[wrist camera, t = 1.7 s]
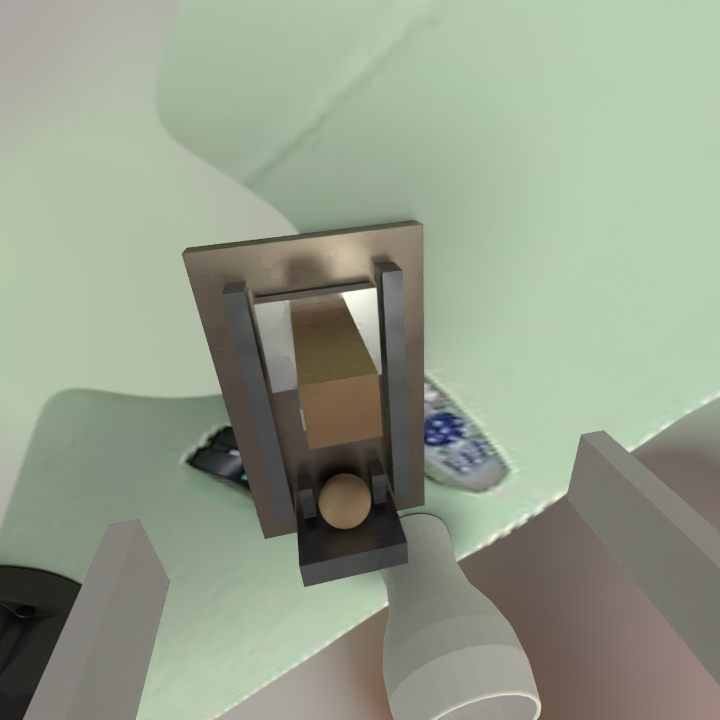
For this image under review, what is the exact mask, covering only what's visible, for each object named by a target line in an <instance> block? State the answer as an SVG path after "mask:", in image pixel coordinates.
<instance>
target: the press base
mask: <svg viewBox="0 0 720 720" xmlns="http://www.w3.org/2000/svg"><path fill="white" fill-rule="evenodd" d="M182 256H183V260H184V263H185V266H186V270H187V273H188V277H189V280H190V284H191V287H192V290H193V293H194V297H195V301H196V304H197V308H198V311H199V314H200V318H201V321H202V325H203V328H204V332H205V335H206V338H207V342H208V345H209V349H210V352H211V355H212V359H213V362H214V366H215V369H216V373H217V376H218V379H219V383H220V387H221V390H222V393H223V397H224V400H225V404H226V407H227V411H228V414H229V417H230V421H231V424H232V428H233V431H234V435H235V438H236V442H237V445H238V448H239V452H240V455H241V459H242V462H243V466H244V469H245V472H246V476H247V479H248V483H249V486H250V490H251V493H252V496H253V500H254V503H255V507H256V510H257V514H258V517H259V520H260V524H261V527H262V531H263V534H264V538H265V539H267V538H272V537H276V536H281V535H286V534H290V533H295V532H297V535H298V551H299V567H300V571H301V575H302V579H303V583H304V587H307V586H311V585H315V584H320V583H324V582H328V581H333V580H337V579H341V578H346V577H350V576H354V575H359V574H363V573H367V572H372V571H376V570H380V569H385V568H389V567H393V566H398V565H402V564H406V563H408V546H407V540H406V537H405V534H404V531H403V528H402V525H401V522H400V519H399V516H398V513H397V511H398V510H403V509H408V508H412V507H417V506H422V505H424V312H423V224H421V223H419V222H417V221H407V222H399V223H390V224H382V225H374V226H365V227H357V228H349V229H340V230H332V231H324V232H315V233H307V234H299V235H290V236H282V237H274V238H266V239H258V240H249V241H240V242H233V243H225V244H215V245H207V246H199V247H190V248H186V250H185V251H184V252H183V253H182ZM368 282H373V284H374V285H375V286H376V288H377V304H378V320H379V336H380V352H381V368H382V374H381V375H379V390H380V405H381V420H382V434H383V436H380V437H374V438H369V439H364V440H359V441H353V442H348V443H343V444H337V445H332V446H327V447H321V448H316V449H311V450H310V449H309V443H308V438H307V432H306V430H305V431H304V429H303V424H302V418H301V413H300V406H299V396H298V389H292V390H286V391H280V392H274V393H273V391H272V386H271V382H270V377H269V373H268V368H267V364H266V359H265V355H264V350H263V345H262V341H261V336H260V332H259V327H258V323H257V318H256V314H255V309H254V298H259V297H266V296H273V295H281V294H288V293H295V292H302V291H310V290H317V289H324V288H331V287H339V286H346V285H353V284H360V283H368ZM338 474H352V475H355V476H357V477H359V478H360V479H361V480H363V482H364V483H365V484H366V485H367V487H368V489H369V492H370V496H371V506H370V510H369V513H368V515H367V517H366V518H365V519H364V520H363V522H361V523H360V524H359V525H357V526H355V527H353V528H349V529H340V528H336V527H334V526H332V525H330V524H329V523H328V522H327V521H326V520H325V519H324V518H323V516H322V514H321V512H320V508H319V495H320V491H321V489H322V487H323V486H324V484H325V483H326V482H327V481H328V480H329V479H330V478H332V477H333V476H335V475H338Z"/></svg>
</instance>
